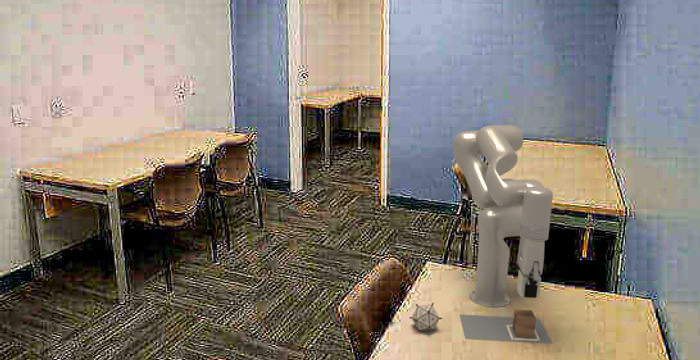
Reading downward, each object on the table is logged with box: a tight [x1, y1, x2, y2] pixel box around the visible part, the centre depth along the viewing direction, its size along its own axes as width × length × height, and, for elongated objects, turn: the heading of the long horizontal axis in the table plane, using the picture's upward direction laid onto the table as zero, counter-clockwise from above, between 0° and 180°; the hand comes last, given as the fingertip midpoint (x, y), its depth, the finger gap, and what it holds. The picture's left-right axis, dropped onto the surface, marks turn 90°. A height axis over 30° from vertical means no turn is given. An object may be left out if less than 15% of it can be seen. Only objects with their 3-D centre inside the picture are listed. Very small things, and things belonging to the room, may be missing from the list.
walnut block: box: [512, 309, 536, 338], centre depth 165 cm, size 5×5×6 cm
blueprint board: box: [459, 314, 553, 345], centre depth 168 cm, size 14×24×1 cm, turn 86°
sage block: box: [516, 269, 542, 299], centre depth 161 cm, size 5×5×6 cm
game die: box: [408, 302, 443, 332], centre depth 166 cm, size 9×8×10 cm
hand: (527, 292), depth 162 cm, fingers closed on sage block, 5 cm apart
